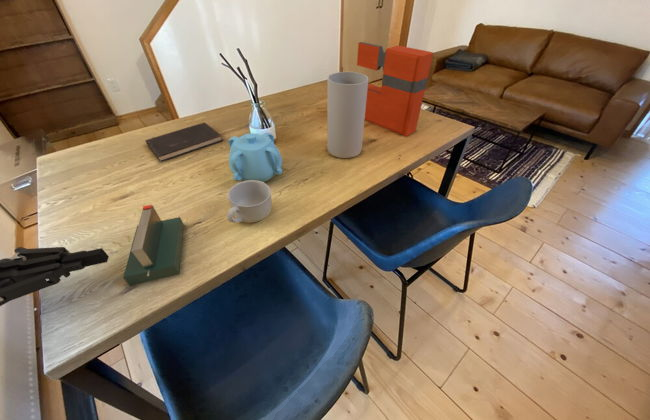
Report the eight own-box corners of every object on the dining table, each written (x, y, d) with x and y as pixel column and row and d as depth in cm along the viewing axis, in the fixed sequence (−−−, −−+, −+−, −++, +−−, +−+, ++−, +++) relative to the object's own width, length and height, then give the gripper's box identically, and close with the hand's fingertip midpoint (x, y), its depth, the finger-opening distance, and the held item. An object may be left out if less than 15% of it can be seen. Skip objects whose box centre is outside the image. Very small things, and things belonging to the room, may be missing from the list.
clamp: (354, 105, 132) (359, 36, 113) (418, 129, 113) (437, 51, 94) (340, 111, 127) (343, 40, 108) (405, 136, 108) (422, 56, 89)
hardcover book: (222, 140, 107) (221, 135, 105) (160, 162, 95) (158, 156, 94) (205, 126, 115) (203, 121, 114) (147, 145, 104) (144, 139, 103)
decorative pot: (282, 158, 97) (277, 121, 88) (284, 185, 85) (279, 146, 76) (235, 162, 95) (225, 125, 86) (230, 190, 83) (218, 150, 74)
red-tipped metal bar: (154, 266, 59) (141, 247, 55) (144, 268, 59) (130, 250, 55) (162, 222, 69) (152, 204, 65) (154, 224, 69) (142, 205, 64)
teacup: (255, 196, 81) (250, 174, 76) (282, 211, 76) (279, 188, 71) (216, 224, 73) (208, 201, 67) (244, 242, 68) (237, 219, 63)
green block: (198, 273, 61) (193, 264, 59) (107, 295, 58) (98, 286, 55) (200, 219, 74) (196, 210, 72) (125, 234, 70) (119, 225, 68)
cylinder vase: (367, 148, 102) (375, 76, 85) (349, 163, 94) (354, 87, 78) (339, 138, 107) (342, 69, 90) (320, 152, 100) (319, 79, 83)
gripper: (-6, 270, 57) (121, 243, 62) (-47, 329, 48) (106, 292, 53) (-38, 246, 52) (102, 220, 57) (-91, 308, 43) (82, 269, 48)
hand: (104, 255), depth 55 cm, fingers closed
